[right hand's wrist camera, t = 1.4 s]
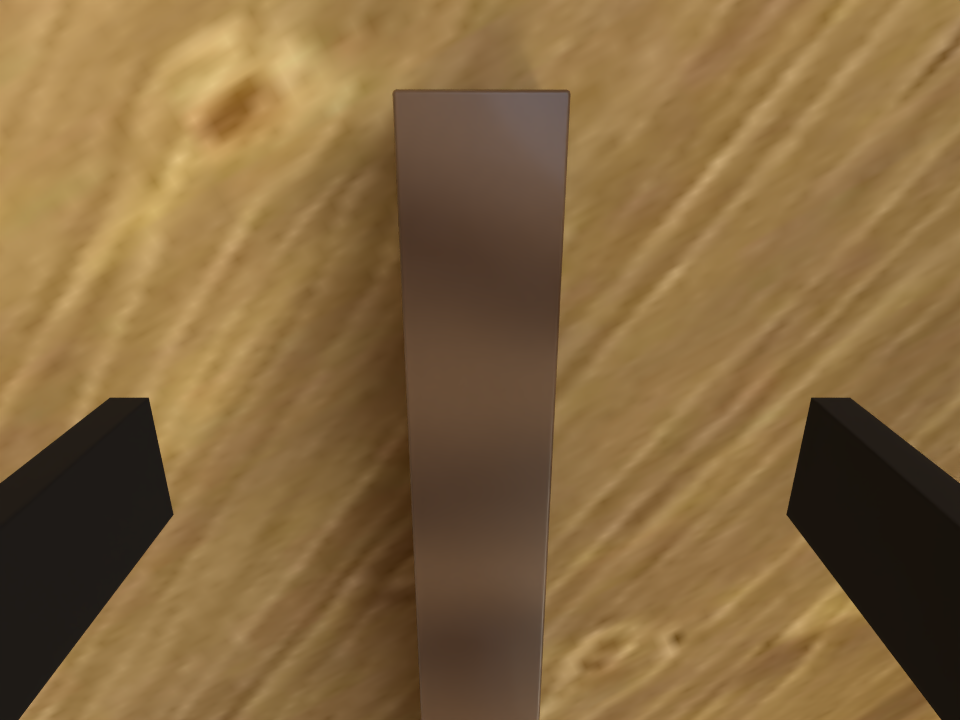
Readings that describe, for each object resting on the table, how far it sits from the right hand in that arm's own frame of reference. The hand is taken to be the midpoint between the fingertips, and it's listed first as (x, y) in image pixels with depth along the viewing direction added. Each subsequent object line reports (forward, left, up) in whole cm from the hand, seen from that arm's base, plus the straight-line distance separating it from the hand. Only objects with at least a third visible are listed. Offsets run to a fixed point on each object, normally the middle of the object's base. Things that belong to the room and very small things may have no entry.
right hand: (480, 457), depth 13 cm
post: (-6, +19, -14) cm, 24 cm away
